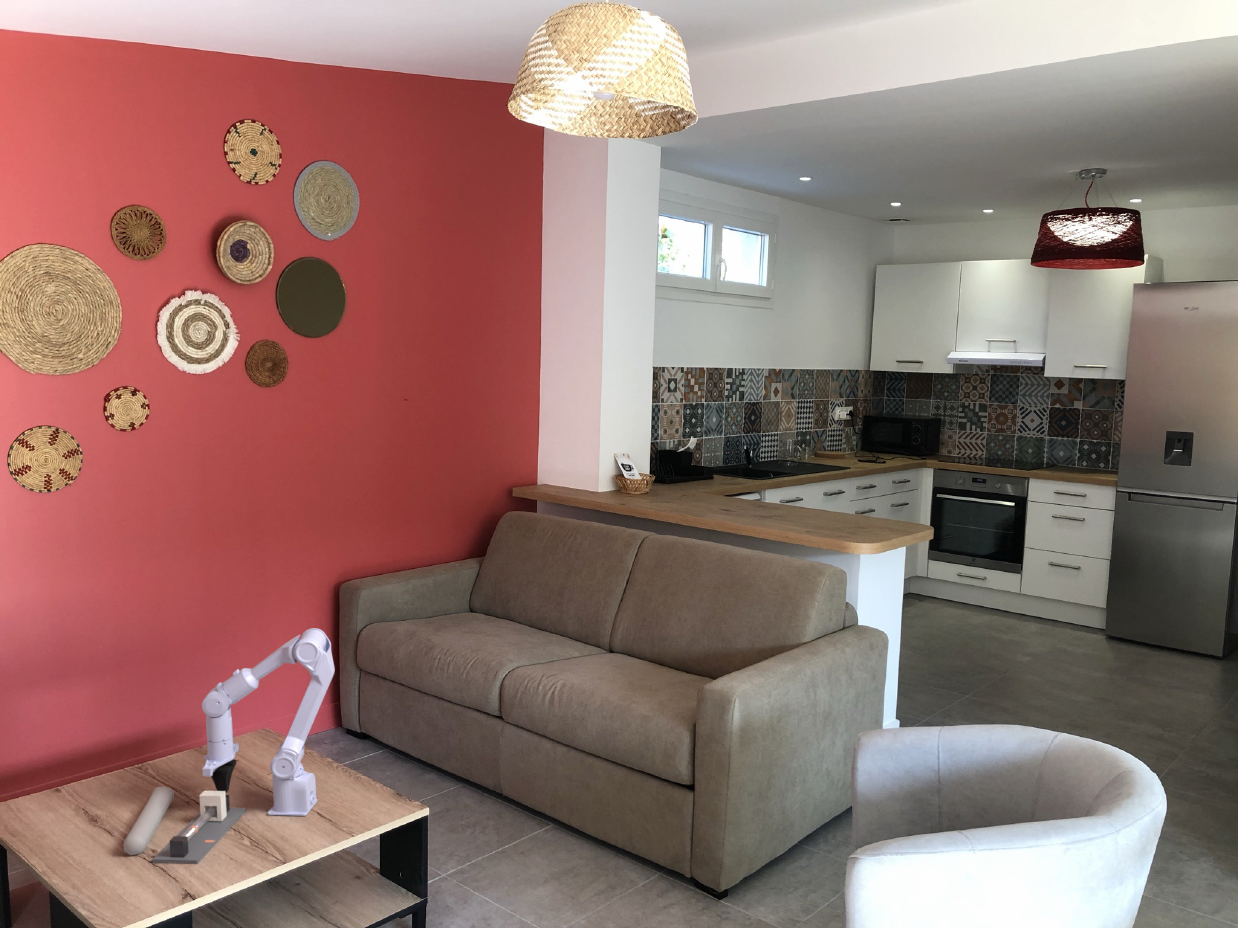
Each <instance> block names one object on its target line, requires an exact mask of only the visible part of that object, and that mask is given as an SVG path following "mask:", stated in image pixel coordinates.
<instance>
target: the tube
mask: <svg viewBox="0 0 1238 928" xmlns="http://www.w3.org/2000/svg"><path fill="white" fill-rule="evenodd" d="M174 795H175V794H174V790H173V789H171V788H170V787H167V786H165V785H164V786H157V787H155V789H154V790H153V791H152V793H150V797H149V799H148V801H147V802H146V805H144V807H143V809H142V811H141V813H140V814H139V816H138V817H137V819H136V821H135V822H134V824H133V825H132V827H131V829H130V831H129V833H128V834H127V836H126V838H125V840H124V841H123V851H124V852H125V853H126V854H128V855H129V856H134V855H135V856H136V855H141V854H142V853H144V851H145V850H146V848H147V846H148V844H149V843H150V841H151V839H152V838H153V835H154V833H155V832H156V830H157V828H158V827H159V824H160V822H161V821H162V819H163V818H164V817H165V814H166V812H167V810H168V809H169V806H170V805H171V803H172V802H173V801H174V799H175V796H174Z"/></svg>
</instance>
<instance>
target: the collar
mask: <svg viewBox="0 0 1238 928" xmlns="http://www.w3.org/2000/svg"><path fill="white" fill-rule="evenodd" d="M226 795H227V794H226V793H225V791H217V790H204V791H203V792H201V793H200V794H199V811H200V812H199V813H201V815H202V814H203V813H204V812H205V811H206V810H207V809H208V808H209V807H210V806H217V813H215V814H214V815H213V817H212V818H211V819H210V820H209V821H223V819H224V818H225V817H226V816H227V813H226Z"/></svg>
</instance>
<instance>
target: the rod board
mask: <svg viewBox="0 0 1238 928" xmlns="http://www.w3.org/2000/svg"><path fill="white" fill-rule="evenodd" d="M225 795H226V813H227V816H226V817H225V818H224V819H223V821H209V820H210V819H211V818H212V817H213V815H214V814H215V813H217V806H210V807H209V808H208V809H207V810H206V811H205V812H204V813H203V814H202V815H201V813H200V812H199V813H198V814H197V815H195V816H194V818H192V820H191V821H189V823H188V824H187V825H185V827H184V828H183V829H181V830H180V831H179V832H178V834H176V835H174V836H173V837H172V838H170V840H169V843H167V845H165V846H164V847H163V848H162V850H160V851H159V852H158V853H157V854H156V855H155V856H154V857H153V858H152V864H185V865H186V864H190V865H198V864H199V863H200V862H201V861H202V859H203V858H205V856H206V855H207V854H208V853H209V852H210V851H211V850H212V849H213V848H214V847H215V845H216V844H218V842H219V841H220V840H221V839H222V838H223V837H224V836H225V835H226V834H227V832H228V831H229V830H230V829H231V828H232V827H233V826H234V825H235V824H236V823H237V822H238V821H239V819H240V818H241V817H243V816H244V814H245V813H246V812H247V807H231V806H230V794H225Z"/></svg>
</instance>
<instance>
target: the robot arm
mask: <svg viewBox="0 0 1238 928" xmlns="http://www.w3.org/2000/svg"><path fill="white" fill-rule="evenodd" d="M297 662H298V663H299V664H300V665H302V666H303V667H304V669H306V670H307V671H308V673H309V674H310V677H311V679H310V681H309V684H308V686H307V688H306V690H305V693H304V695H303V697H302V700H301V702H300V704H299V707H298V708H297V709H298V710H297V712H296V714H295V716H294V718H293V721H292V724H291V726H290V728H289V730H288V732H287V735H286V737H285V740H283V741H282V742H281V743H280V744H279V746H278V748H277V750H276V753H275V754H274V757H272V759H271V761H270V764H269V769H270V773H271V775H272V790H273V791H272V794H273V795H272V796H273V806H271V808H270V809H269V810H268V812H267V815H268V816H297V817H299V816H301V817H302V816H303V817H305V816H307V815H308V814H309V812H310V811H311V810H312V808H313V807H314V806H315V805H316V803H317V802H318V801H319V800H318V799H317V785H316V776H315V774H314V772H308V771H306V770H305V768H304V767H303V764H302V763H301V761H302V760H303V757H304V754H305V744H306V741H307V738H308V735H309V733H310V731H311V729H312V727H313V723H314V722H315V719H316V717H317V715H318V713H319V710H320V708H321V706H322V703H323V701H324V698H325V696H326V694H327V691H328V689H329V686H330V684H331V682H332V679H333V678H334V676H335V670H336V669H335V664H334V659H333V654H332V643H331V641H330V639H329V637H328V636H327V635H326V633H325V632H324V630H322V629H320V628H316V627H315V628H314V627H313V628H308V629H307V630H305V631H303V633H302V635H301V634H299V635H296V636H295V637H293V638H292V639H289V641H286V642H285V643H284V644H283V645H281V646H280V647H279V648H278V649H275V651H273V652H272V653H271V654H269V655H268V656H267V657H265V658H264V659H262V660H261V661H260V662H259V663H258V664H256V665H255V666H253V667H252V668H247V667H244V668H242V669H239V668H237V669H236V670H234V671H233V673H232V675H231V676H230V677H229V678H228V679H226V680H224V681H223V682H219V683H217V684H216V686H215V687H213V688H212V689H211V690H210V691H209V692H208V693H207V695H205V696H204V698H203V700H202V703H201V709H202V711H203V713H204V714H205V727H206V729H205V730H206V731H205V732H206V744H207V745H206V747H207V753H206V754H204V756H202V757H203V760H205V763H204V766H203V767H202V770H201V771H202V777H210V778H211V779H212V782H213V783H214V787H215V791H225V794H227V793H228V792H229V789H230V785H231V781H232V775H233V772H234V770H235V767H236V765H237V759H235V758H236V753H238V752H239V751H240V749H239V748H240V747H239V746H240V745H239V743H237V742H235V743H234V735H233V718H232V707H231V705H235V704H237V703H239V701H241V700H242V699H243V698H245V697H247V696H248V695H250V694H251V693H252V692H254V691H255V690H257V688H259V684H260V680H261V679H263V678H265V677H266V676H267V675H269V674H271V673H272V672H273V671H275V670H276V669H278V668H280V667H282V666H283V665H284V664H292V665H296V664H297Z"/></svg>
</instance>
